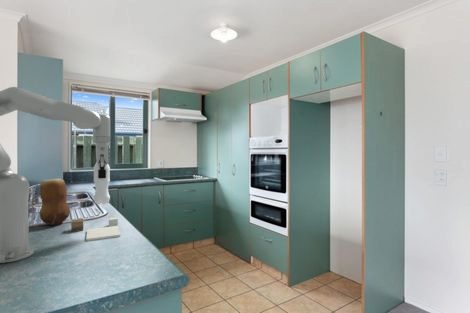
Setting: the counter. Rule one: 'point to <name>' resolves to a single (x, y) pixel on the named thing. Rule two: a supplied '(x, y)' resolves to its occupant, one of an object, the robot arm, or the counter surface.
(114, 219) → the pale grey block
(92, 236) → the placemat
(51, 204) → the butternut squash
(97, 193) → the water bottle
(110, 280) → the counter surface
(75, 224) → the walnut block
